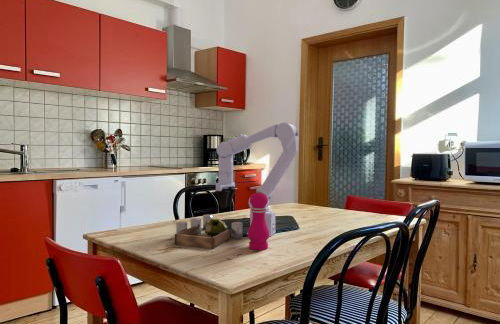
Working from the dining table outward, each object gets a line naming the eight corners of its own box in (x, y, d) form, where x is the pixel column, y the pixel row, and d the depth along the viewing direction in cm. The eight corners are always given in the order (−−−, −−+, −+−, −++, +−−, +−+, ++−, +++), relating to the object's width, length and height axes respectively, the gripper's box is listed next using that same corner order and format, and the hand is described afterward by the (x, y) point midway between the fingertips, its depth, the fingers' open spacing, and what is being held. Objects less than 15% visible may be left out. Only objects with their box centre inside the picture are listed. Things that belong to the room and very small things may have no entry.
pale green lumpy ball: (219, 241, 137) (216, 219, 136) (200, 240, 142) (197, 219, 141) (235, 234, 144) (231, 213, 143) (216, 233, 149) (213, 213, 149)
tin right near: (202, 232, 148) (202, 218, 148) (198, 234, 144) (198, 220, 144) (193, 231, 150) (193, 217, 149) (188, 233, 146) (188, 219, 146)
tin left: (244, 237, 141) (244, 222, 141) (240, 239, 138) (240, 224, 137) (234, 236, 143) (234, 221, 142) (229, 238, 139) (230, 223, 139)
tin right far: (189, 236, 141) (189, 222, 141) (183, 239, 137) (183, 224, 137) (179, 235, 143) (179, 221, 142) (174, 238, 139) (174, 223, 139)
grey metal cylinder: (214, 228, 156) (214, 214, 156) (210, 230, 152) (210, 216, 152) (205, 227, 157) (205, 214, 157) (201, 229, 153) (201, 215, 153)
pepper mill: (262, 251, 122) (262, 189, 121) (243, 248, 126) (243, 188, 125) (273, 246, 128) (273, 187, 128) (254, 243, 132) (255, 186, 131)
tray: (230, 239, 138) (230, 229, 138) (213, 248, 125) (213, 238, 125) (194, 235, 143) (194, 226, 143) (174, 244, 130) (174, 234, 130)
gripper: (224, 171, 159) (223, 203, 159) (208, 173, 145) (208, 209, 146) (239, 171, 156) (239, 204, 157) (225, 174, 143) (225, 210, 143)
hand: (225, 207), depth 151 cm, fingers open, 4 cm apart
